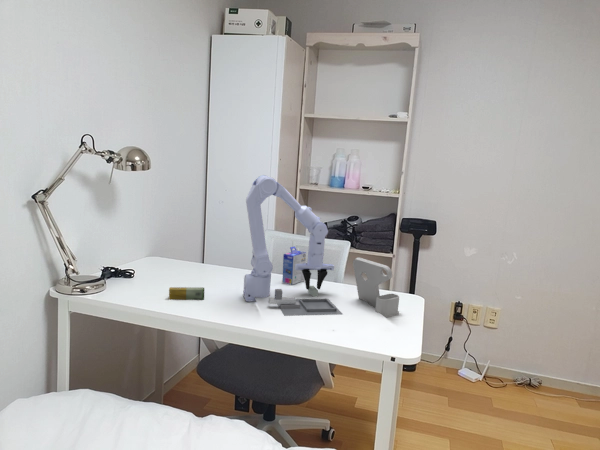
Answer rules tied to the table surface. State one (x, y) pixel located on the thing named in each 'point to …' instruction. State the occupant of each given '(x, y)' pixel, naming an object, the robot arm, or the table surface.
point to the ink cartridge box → (293, 266)
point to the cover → (313, 291)
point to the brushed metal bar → (281, 298)
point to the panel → (309, 307)
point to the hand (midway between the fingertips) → (313, 288)
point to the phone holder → (375, 286)
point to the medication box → (186, 293)
